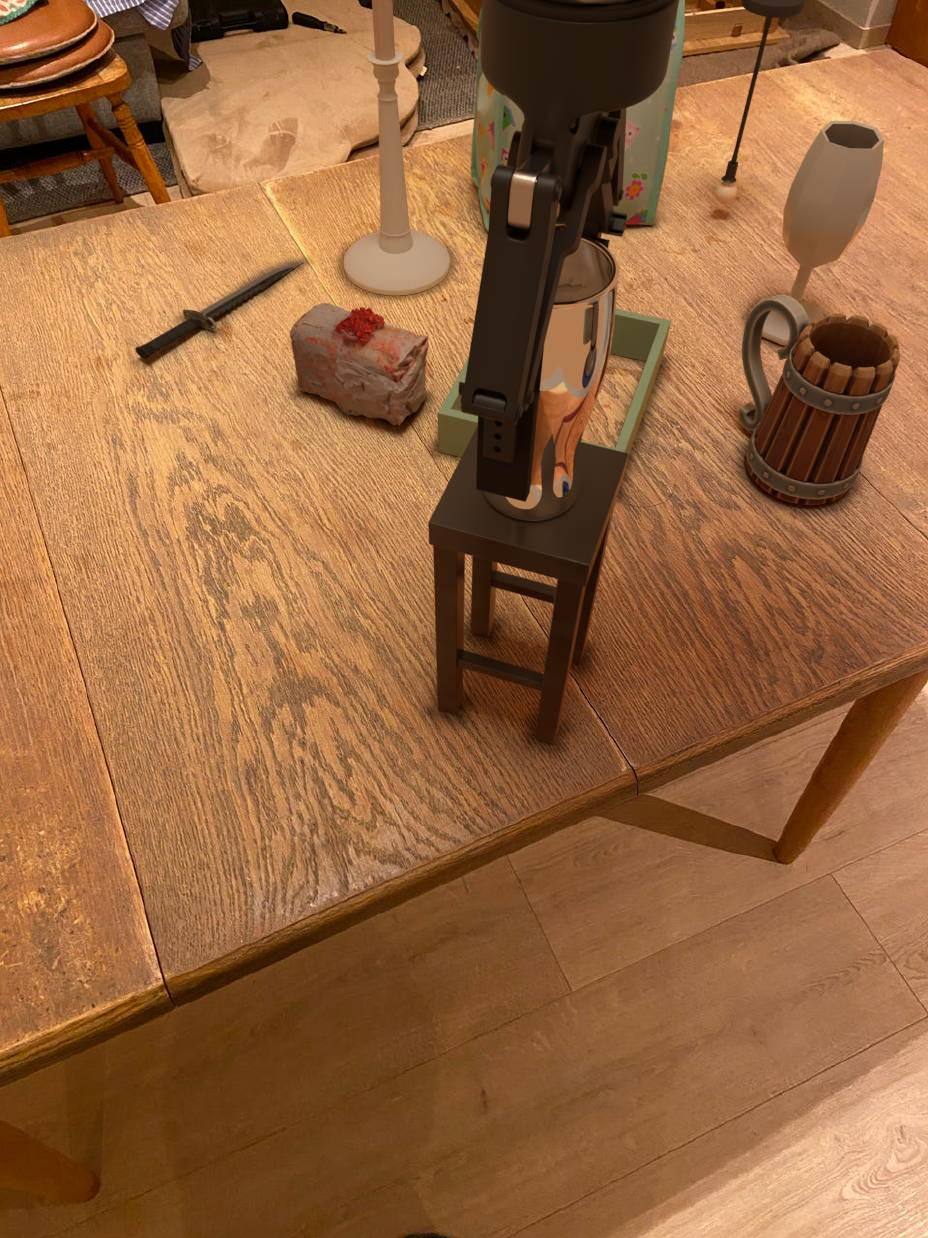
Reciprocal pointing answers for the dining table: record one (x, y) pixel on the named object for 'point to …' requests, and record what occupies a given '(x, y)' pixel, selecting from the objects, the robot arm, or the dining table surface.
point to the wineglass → (827, 206)
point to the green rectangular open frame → (630, 340)
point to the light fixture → (754, 81)
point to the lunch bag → (642, 136)
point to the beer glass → (568, 380)
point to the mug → (814, 401)
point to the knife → (212, 311)
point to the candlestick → (393, 193)
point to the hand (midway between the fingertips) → (539, 409)
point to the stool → (535, 546)
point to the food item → (360, 362)
